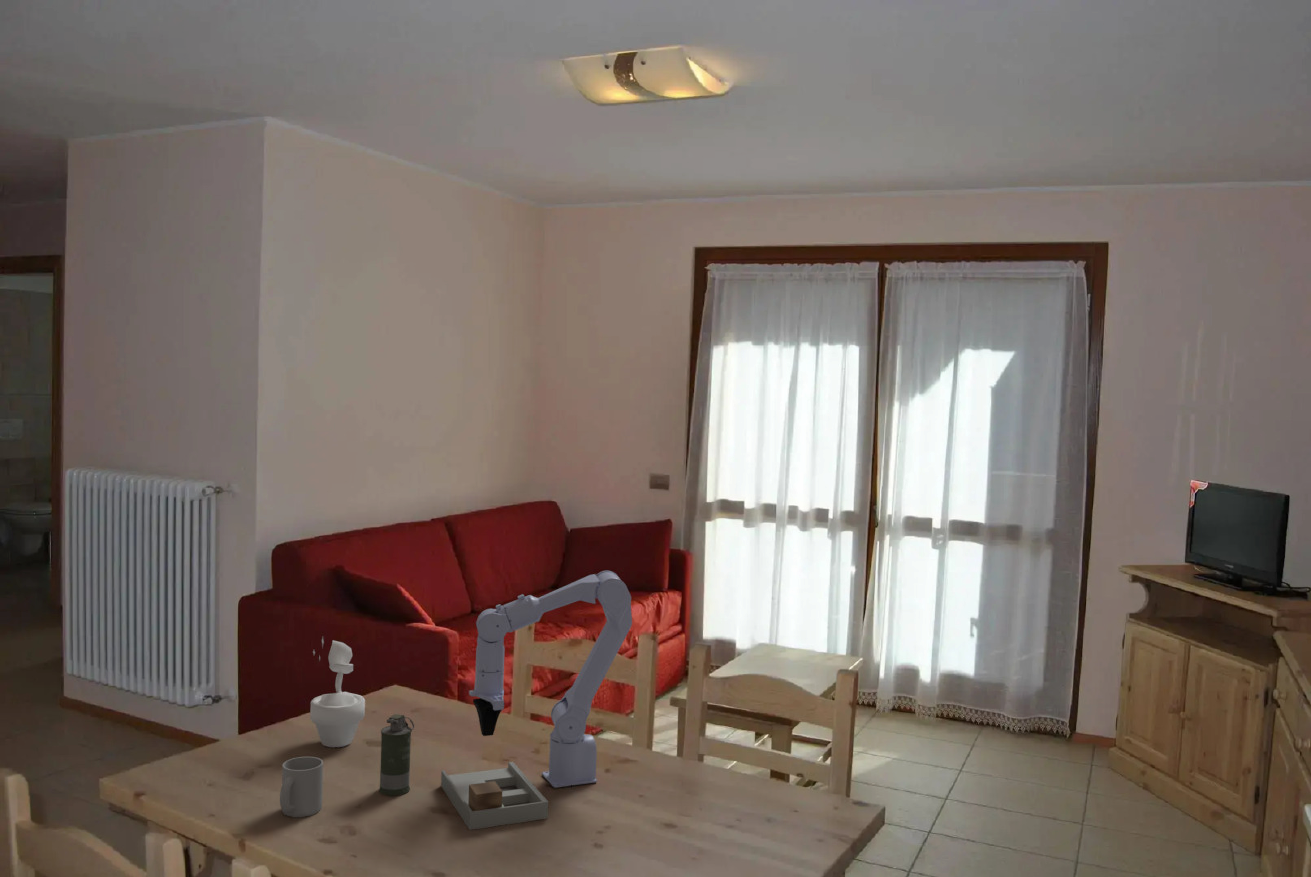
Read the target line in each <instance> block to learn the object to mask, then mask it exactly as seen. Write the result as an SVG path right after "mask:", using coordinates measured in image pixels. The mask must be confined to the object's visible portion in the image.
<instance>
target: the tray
mask: <svg viewBox="0 0 1311 877" xmlns="http://www.w3.org/2000/svg"><path fill="white" fill-rule="evenodd" d="M507 766H508V767H506V768H498V769H497V768H495V769H489V770H482V771H481V770H480V771H472V772H464V773H455V774H448V773H447V772H446V771H445V769H443V770H441V775H440V776H441V777H440V778H441V779H440V787H441V786H442V787H441V788H442V790H443V791H444V793H445V794H446V796H447V797H448V799H449V800H450V802H451V804H452V805H453V806H454V808H455V809H456V811H457V813H458V814H459V816H460V817H461V819H462V820H463V822H464V823H465V825H466V826H467V828H468V830H469V831H471V830H479V829H486V828H491V827H500V826H504V825H505V824H507V825H511V824H519V823H526V822H532V821H538V820H546V819H548V816H549V815H548V813H549V801H548V800H547V799H546V797H545V796H544V795H543V794H542V793H541V792H540V790H539V789H538V788H537V787H536V786H535V785H534V784H533V783H532V781H531V780H529V778H528V777H527V776H526V774H524V772H522V770H521V769H520V768H519V767H518V766H517V764H516V763H515V761H509V762H508V763H507ZM494 781H495V782H496V784H497V785H498V786H499V787H500V789H501V790H502V807H500V808H493V809H485V810H478V811H472V810H471V809H470V807H469V806H468V801H469V785H470V784H478V783H486V782H494ZM499 825H500V826H499Z"/></svg>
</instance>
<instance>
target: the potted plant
mask: <svg viewBox="0 0 1311 877" xmlns="http://www.w3.org/2000/svg"><path fill="white" fill-rule="evenodd" d="M324 643H325V641H324V637H322V639H321V646H322V648H323V647H324ZM352 651H353V650H352V647H350V646H349V645H347V644H346V643H344V642H342V641H337V640H334V639H333V640H332V643H331V647H330V650H329V653H328V657H327V659H328V663H329V666H328V667H329V669H330V670H331V671H332V672H334V673H337V674H336V677H335V683H334V686H335V691H336V692H333V693H325V694H322V695H319V696H316V697H314V698H313V699H311V701H310V713H309V714H310V715H309V716H310V717H309V718H310V721H311V722H312V723H313V724H315V728H316V730H317V734H318V736H319V740H320V743H321V744H322V746H325V747H327V748H335V747H337V748H343V747H346V746H348V745H350V744H351V743H352V742H353V741H354V740H353V739H354V737H355V734H356V731H357V729H358V726H359V723H360V722H361V721H362V720H363V719H364V718H365V714H366V712H365V711H366V710H365V709H366V699H365V698H364V696H362V695H360V694H357V693H351V692H348V691H342V683H343V676H344V674H346V675H347V674H350V673H352V672H353V671H354V664H353V663H350V662H351V660H352V658H353V655H354V654H353V652H352ZM312 653H313V655H315V654H316V651H315V650H313V651H312ZM318 658H319V659H318V660H319V661H321V656H320V655H319V657H318Z"/></svg>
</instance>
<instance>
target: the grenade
mask: <svg viewBox="0 0 1311 877" xmlns="http://www.w3.org/2000/svg"><path fill="white" fill-rule="evenodd" d="M406 719H408V720H409V722H410V723H411V724H412V728H411V727H410V726H409V724H408V722H407V721H406ZM386 723H388V724H390V725H388V726H385V727H383V728H382V729H381V730H380V734H381V737H380V738H381V741H380V742H381V744H380V745H381V746H380V771H379V772H380V773H379V774H380V776H379V777H380V778H379V789H378V792H379V794H380V795H383V796H387V797H398V796H402V795H406V794H407V793H409V792H410V790H411V788H410V773H411V770H410V768H411V746H412V745H411V743H412V742H411V740H412V732H413V730H414V729H415V724H414V722H413V720H412V719H411V718H409V717H407V716H406V717H405V715H404V714H399V713H398V714H397V713H394V714H392V715H391V716H389V717H388V719H386Z"/></svg>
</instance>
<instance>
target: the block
mask: <svg viewBox="0 0 1311 877" xmlns="http://www.w3.org/2000/svg"><path fill="white" fill-rule="evenodd" d="M468 806H469V807H470V809H471V810H472V811H478V810H485V809H493V808H500V807H502V790H501V789H500V787H499V786H498V785H497V784H496V782H495V781H494V782H486V783H478V784H470V785H469V801H468Z"/></svg>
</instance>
